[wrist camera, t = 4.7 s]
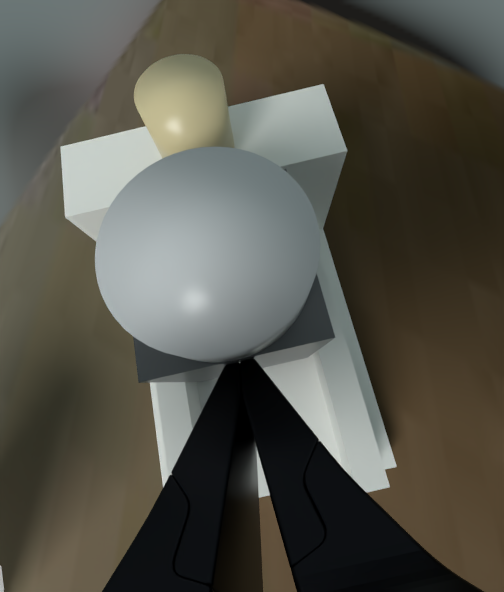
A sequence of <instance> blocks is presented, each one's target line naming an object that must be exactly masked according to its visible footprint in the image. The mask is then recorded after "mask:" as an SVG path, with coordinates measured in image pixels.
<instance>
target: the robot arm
mask: <svg viewBox="0 0 504 592" xmlns="http://www.w3.org/2000/svg"><path fill="white" fill-rule="evenodd" d="M256 447H257V449H256ZM257 451H258V454H259V458H260V461H261V465H262V469H263V472H264V476H265V479H266V483H267V486H268V490H269V493H270V497H271V501H272V504H273V508H274V511H275V515H276V518H277V522H278V525H279V529H280V533H281V536H282V540H283V543H284V547H285V550H286V554H287V557H288V561H289V565H290V568H291V571H292V575H293V579H294V582H295V586H296V590H297V592H484V591H482V590H481V589H479V588H477V587H476V586H474V585H472V584H471V583H469V582H467V581H466V580H464V579H463V578H461V577H460V576H458V575H456V574H455V573H453V572H452V571H451V570H449V569H448V568H447V567H445V566H444V565H443V564H442V563H440V562H439V561H438V560H437V559H435V558H434V557H433V556H432V555H431V554H430V553H428V552H427V551H426V550H425V549H424V548H423V547H422V546H421V545H420V544H419V543H418V542H416V541H415V540H414V539H413V538H412V537H411V536H410V535H409V534H408V533H407V532H406V531H405V530H404V529H403V528H402V527H401V526H400V525H399V524H398V523H397V522H396V521H395V520H394V519H393V518H392V517H391V516H390V515H389V514H388V513H387V512H386V511H385V510H384V509H383V508H382V507H381V506H380V505H379V504H378V503H376V502H375V501H374V500H373V499H372V498H371V497H370V496H369V495H368V494H367V493H366V492H365V491H364V490H363V489H362V488H361V487H360V486H359V485H358V484H357V482H356V481H355V480H354V479H353V478H352V477H351V476H350V475H349V474H348V473H347V472H346V471H345V470H344V469H343V468H342V466H341V465H340V464H339V463H338V462H337V461H336V459H335V458H334V457H333V456H332V455H331V454H330V452H329V451H328V450H327V449H326V447H325V446H324V445H323V444H322V442H321V441H319V439H318V438H317V436H316V435H315V434H314V433H313V431H312V430H311V429H310V427H309V426H308V425H307V424H306V422H305V421H304V420H303V419H302V417H301V416H300V415H299V414H298V412H297V411H296V410H295V409H294V407H293V406H292V405H291V404H290V402H289V401H288V400H287V399H286V397H285V396H284V395H283V394H282V392H281V391H280V390H279V389H278V387H277V386H276V385H275V384H274V382H273V381H272V380H271V379H270V377H269V376H268V375H267V374H266V372H265V371H264V370H263V369H262V367H261V366H260V365H259V363H258V362H257V361H256V360H255V359H249V360H245V361H241V362H240V363H239V362H236V363H232V364H227V365H225V366H224V368H223V370H222V372H221V374H220V376H219V378H218V380H217V382H216V384H215V386H214V388H213V390H212V392H211V394H210V396H209V398H208V400H207V402H206V404H205V406H204V408H203V410H202V412H201V414H200V416H199V418H198V420H197V422H196V424H195V426H194V428H193V430H192V432H191V434H190V436H189V438H188V440H187V442H186V444H185V446H184V448H183V450H182V452H181V454H180V456H179V458H178V460H177V462H176V464H175V466H174V468H173V470H172V472H171V473H172V475H169V477H168V479H167V481H166V483H165V485H164V487H163V489H162V491H161V493H160V495H159V497H158V499H157V501H156V502H155V504H154V506H153V508H152V510H151V512H150V514H149V515H148V517H147V519H146V520H145V522H144V524H143V526H142V527H141V529H140V531H139V532H138V534H137V536H136V537H135V539H134V541H133V542H132V544H131V546H130V547H129V549H128V550H127V552H126V554H125V555H124V557H123V559H122V560H121V562H120V563H119V565H118V567H117V568H116V570H115V571H114V573H113V575H112V576H111V578H110V579H109V581H108V583H107V584H106V586H105V588H104V589H103V591H102V592H263V580H262V558H261V536H260V514H259V492H258V470H257Z"/></svg>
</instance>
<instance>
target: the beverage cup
mask: <svg viewBox="0 0 504 592" xmlns="http://www.w3.org/2000/svg"><path fill="white" fill-rule="evenodd" d="M0 592H4V585H3V577H2V569H1V566H0Z"/></svg>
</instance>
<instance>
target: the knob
mask: <svg viewBox="0 0 504 592" xmlns="http://www.w3.org/2000/svg"><path fill="white" fill-rule="evenodd" d="M319 259H320V232H319V226H318V222H317V218H316V215H315V212H314V210H313V207H312V204H311V203H310V201H309V199H308V197H307V195H306V194H305V192H304V191H303V189H302V188H301V187H300V185H299V184H298V183H297V182H296V181H295V180H294V179H293V178H292V177H291V176H290V175H289V174H288V173H287V170H286V169H282V168H281V167H280V166H278V165H277V164H275V163H273V162H272V161H270V160H268V159H266V158H264V157H262V156H260V155H257V154H255V153H252V152H249V151H245V150H242V149H236V148H230V147H200V148H194V149H189V150H185V151H181V152H178V153H175V154H172V155H170V156H167V157H165V158H163V159H160V160H159V161H157V162H155V163H153V164H151V165H150V166H148V167H147V168H145V169H144V170H143V171H141V172H140V173H138V174H137V175H136V176H135V177H134V178H133V179H132V180H130V181H129V182H128V183H127V184H126V185H125V187H124V188H123V189H122V190H121V191H120V192H119V193H118V195H117V196H116V198H115V199H114V201H113V202H112V203H111V205H110V207H109V209H108V211H107V212H106V214H105V216H104V219H103V221H102V224H101V227H100V230H99V234H98V238H97V242H96V250H95V270H96V276H97V282H98V285H99V288H100V292H101V295H102V297H103V299H104V301H105V303H106V305H107V307H108V309H109V310H110V312H111V313H112V315H113V316H114V318H115V319H116V320H117V321H118V322H119V323H120V325H121V326H122V327H123V328H124V329H125V330H126V331H127V332H129V333H130V334H131V335H132V336H133V338H134V347H135V355H136V364H137V372H138V381H139V383H146V382H203V381H208V380H212V379H216V378H219V376H220V374H221V372H222V370H223V368H224V366H225V365H227V364H232V363H236V362H239V363H240V362H241V361H245V360H249V359H255V360H256V361H257V362H258V363H259V365H260V366H261V367H262V368H264V367H269V366H273V365H278V364H282V363H286V362H291V361H295V360H299V359H304V358H308V357H309V356H311V355H312V354H313V353H315V352H316V351H318V350H319V349H320V348H322V347H323V346H324V345H326V344H327V343H329V342H330V341H331V340H333V339H334V338H335V334H334V331H333V328H332V324H331V321H330V317H329V314H328V310H327V307H326V304H325V300H324V297H323V293H322V290H321V286H320V283H319V279H318V276H317V269H318V264H319Z"/></svg>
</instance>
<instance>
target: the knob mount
mask: <svg viewBox="0 0 504 592" xmlns="http://www.w3.org/2000/svg"><path fill="white" fill-rule="evenodd" d="M134 101H135V105H136V107H137V110H138V112H139V114H140V116H141V117H142V119H143V121H144V123H145V125H146V126H145V127H141V128H137V129H133V130H129V131H124V132H120V133H116V134H112V135H108V136H103V137H99V138H95V139H91V140H87V141H82V142H78V143H74V144H70V145H66V146H61V161H62V176H63V191H64V206H65V218H67V219H68V220H69V221H71V222H72V223H73V224H74V225H76V226H77V227H78V228H80V229H81V230H82V231H83V232H85V233H86V234H87V235H89V236H90V237H91V238H92V239H94V240H95V241H96V242H97V238H98V234H99V230H100V227H101V224H102V221H103V219H104V216H105V214H106V212H107V211H108V209H109V207H110V205H111V203H112V202H113V201H114V199H115V198H116V196H117V195H118V193H119V192H120V191H121V190H122V189H123V188H124V187H125V185H126V184H127V183H128V182H129V181H130V180H132V179H133V178H134V177H135V176H136V175H137V174H138V173H140V172H141V171H143V170H144V169H145V168H147V167H148V166H150V165H151V164H153V163H155V162H157V161H159V160H160V159H163V158H165V157H167V156H170V155H172V154H175V153H178V152H181V151H185V150H189V149H194V148H200V147H230V148H236V149H242V150H245V151H249V152H252V153H255V154H257V155H260V156H262V157H264V158H266V159H268V160H270V161H272V162H273V163H275V164H277V165H278V166H280V167H281V168H282V169H286V170H287V173H288V174H289V175H290V176H291V177H292V178H293V179H294V180H295V181H296V182H297V183H298V184H299V185H300V187H301V188H302V189H303V191H304V192H305V194H306V195H307V197H308V199H309V201H310V203H311V204H312V207H313V210H314V212H315V215H316V218H317V222H318V226H319V232H320V259H319V264H318V269H317V276H318V279H319V283H320V286H321V290H322V293H323V297H324V300H325V304H326V307H327V310H328V314H329V317H330V321H331V324H332V328H333V331H334V334H335V338H334V339H333V340H331V341H330V342H329V343H327V344H326V345H324V346H323V347H322V348H320V349H319V350H318V351H316V352H315V353H313V354H312V355H311V356H309V357H308V358H304V359H299V360H295V361H291V362H286V363H282V364H278V365H273V366H269V367H264V368H262V369H263V370H264V371H265V372H266V374H267V375H268V376H269V377H270V379H271V380H272V381H273V382H274V384H275V385H276V386H277V387H278V389H279V390H280V391H281V392H282V394H283V395H284V396H285V397H286V399H287V400H288V401H289V402H290V404H291V405H292V406H293V407H294V409H295V410H296V411H297V412H298V414H299V415H300V416H301V417H302V419H303V420H304V421H305V422H306V424H307V425H308V426H309V427H310V429H311V430H312V431H313V433H314V434H315V435H316V436H317V438H318V439H319V441H321V442H322V444H323V445H324V446H325V447H326V449H327V450H328V451H329V452H330V454H331V455H332V456H333V457H334V458H335V459H336V461H337V462H338V463H339V464H340V465H341V466H342V468H343V469H344V470H345V471H346V472H347V473H348V474H349V475H350V476H351V477H352V478H353V479H354V480H355V481H356V482H357V484H358V485H359V486H360V487H361V488H362V489H363V490H364V491H365V492H370V491H375V490H379V489H384V488H388V487H390V486H389V482H388V479H387V476H386V472H385V469H389V468H394V467H397V466H396V463H395V460H394V456H393V453H392V450H391V447H390V443H389V440H388V437H387V434H386V430H385V427H384V424H383V421H382V418H381V414H380V411H379V408H378V405H377V401H376V398H375V395H374V392H373V388H372V385H371V382H370V379H369V376H368V372H367V369H366V366H365V363H364V359H363V356H362V353H361V350H360V346H359V343H358V340H357V337H356V334H355V330H354V327H353V324H352V321H351V317H350V314H349V311H348V308H347V304H346V301H345V298H344V295H343V292H342V288H341V285H340V282H339V279H338V275H337V272H336V269H335V266H334V262H333V259H332V256H331V253H330V250H329V246H328V243H327V240H326V237H325V233H324V230H323V227H324V224H325V221H326V218H327V214H328V211H329V208H330V205H331V202H332V198H333V195H334V192H335V189H336V186H337V182H338V179H339V176H340V173H341V170H342V166H343V163H344V160H345V157H346V154H347V148H346V145H345V143H344V140H343V137H342V134H341V132H340V129H339V126H338V123H337V120H336V118H335V115H334V112H333V109H332V106H331V104H330V101H329V98H328V95H327V93H326V90H325V87H324V84H322V85H317V86H313V87H309V88H305V89H301V90H296V91H292V92H288V93H284V94H280V95H275V96H271V97H267V98H263V99H259V100H254V101H250V102H246V103H242V104H238V105H233V106H229V107H228V105H227V99H226V93H225V87H224V82H223V77H222V74H221V73H220V71H219V69H218V68H217V67H216V66H215V65H214V64H213V63H212V62H211V61H209V60H207V59H205V58H203V57H200V56H197V55H191V54H179V55H173V56H169V57H166V58H163V59H161V60H159V61H157V62H155V63H154V64H152V65H151V66H150V67H149V68H147V69H146V70H145V71H144V72H143V74H142V75H141V76H140V78H139V80H138V81H137V84H136V86H135V90H134ZM217 380H218V378H216V379H212V380H208V381H203V382H150V387H151V395H152V403H153V411H154V419H155V427H156V434H157V442H158V450H159V458H160V466H161V474H162V482H163V487H164V485H165V483H166V481H167V479H168V477H169V475H172V473H171V472H172V470H173V468H174V466H175V464H176V462H177V460H178V458H179V456H180V454H181V452H182V450H183V448H184V446H185V444H186V442H187V440H188V438H189V436H190V434H191V432H192V430H193V428H194V426H195V424H196V422H197V420H198V418H199V416H200V414H201V412H202V410H203V408H204V406H205V404H206V402H207V400H208V398H209V396H210V394H211V392H212V390H213V388H214V386H215V384H216V382H217ZM256 449H257V447H256ZM257 470H258V492H259V498H260V497H264V496H268V495H270V493H269V490H268V486H267V483H266V479H265V476H264V472H263V469H262V465H261V461H260V458H259V454H258V451H257Z"/></svg>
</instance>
